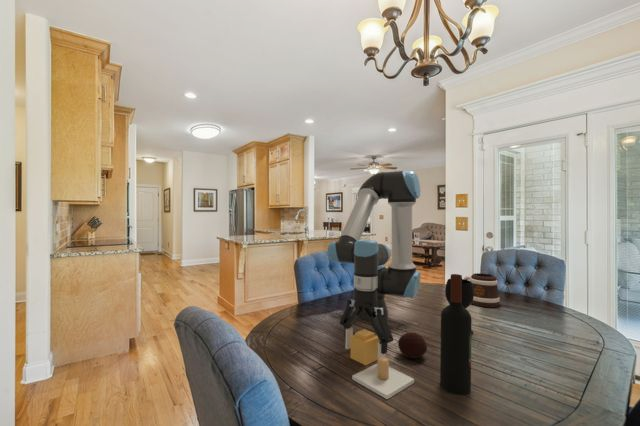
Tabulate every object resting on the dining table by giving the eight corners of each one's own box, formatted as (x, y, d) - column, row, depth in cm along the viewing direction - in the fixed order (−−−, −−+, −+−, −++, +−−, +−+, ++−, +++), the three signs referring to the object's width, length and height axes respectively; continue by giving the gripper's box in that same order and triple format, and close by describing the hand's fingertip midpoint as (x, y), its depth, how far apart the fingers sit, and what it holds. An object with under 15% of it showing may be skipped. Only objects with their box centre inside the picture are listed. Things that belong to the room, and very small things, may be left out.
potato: (395, 351, 103) (395, 328, 103) (423, 351, 103) (423, 328, 103) (401, 362, 95) (401, 337, 95) (431, 363, 95) (431, 338, 95)
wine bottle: (435, 379, 86) (436, 272, 86) (460, 378, 86) (462, 272, 86) (448, 395, 78) (449, 278, 78) (476, 394, 79) (478, 277, 79)
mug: (506, 305, 157) (506, 276, 157) (487, 309, 150) (488, 279, 150) (471, 296, 174) (471, 270, 174) (453, 299, 167) (453, 272, 167)
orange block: (350, 357, 98) (350, 332, 98) (363, 352, 102) (364, 327, 102) (365, 365, 93) (365, 338, 93) (379, 359, 97) (379, 333, 97)
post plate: (352, 379, 85) (352, 357, 85) (379, 365, 93) (379, 346, 93) (387, 399, 76) (387, 375, 76) (414, 382, 84) (414, 360, 84)
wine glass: (476, 337, 116) (477, 284, 116) (447, 334, 118) (448, 282, 118) (469, 327, 126) (469, 278, 126) (442, 325, 128) (442, 277, 128)
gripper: (330, 283, 105) (329, 345, 104) (390, 298, 86) (389, 374, 85) (345, 280, 110) (344, 339, 109) (405, 294, 91) (404, 366, 90)
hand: (364, 355), depth 97 cm, fingers open, 13 cm apart
